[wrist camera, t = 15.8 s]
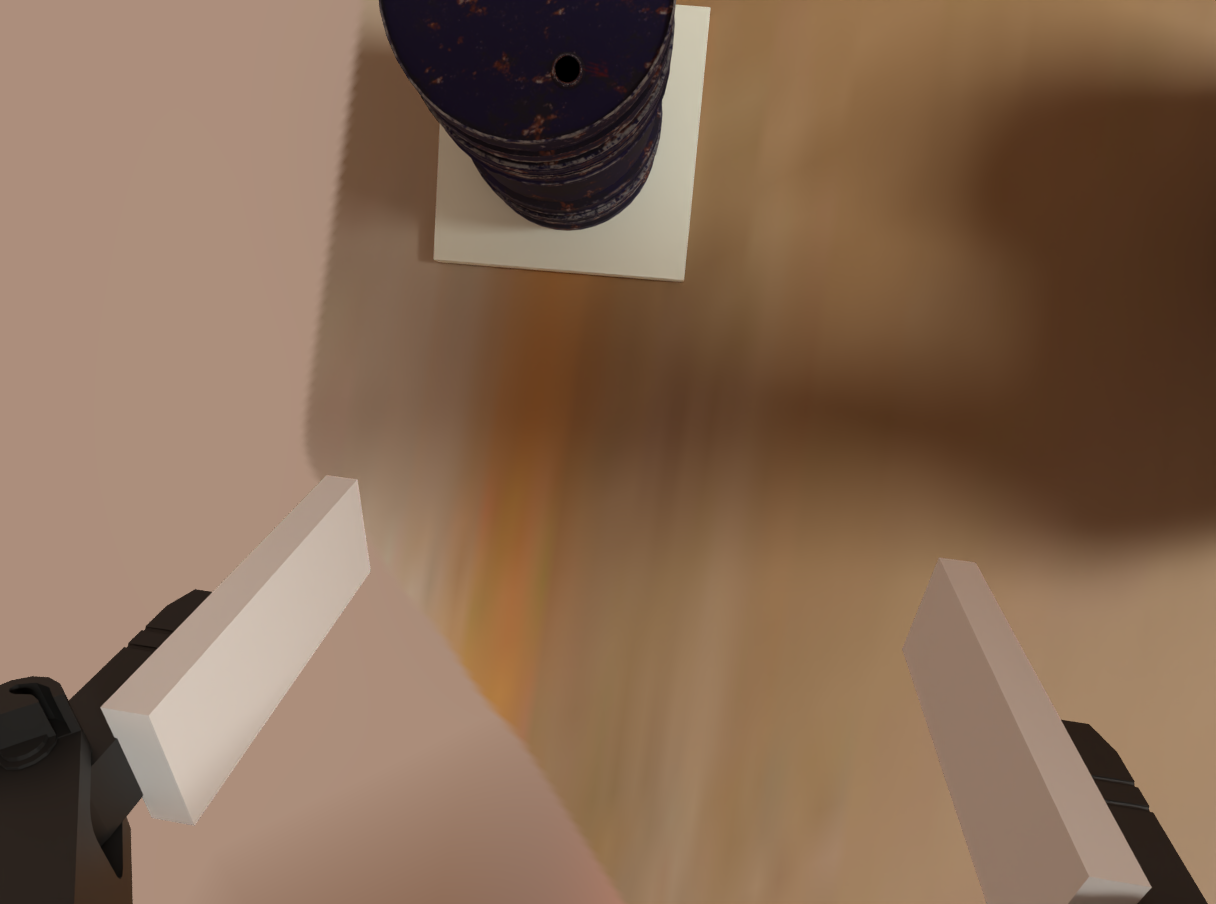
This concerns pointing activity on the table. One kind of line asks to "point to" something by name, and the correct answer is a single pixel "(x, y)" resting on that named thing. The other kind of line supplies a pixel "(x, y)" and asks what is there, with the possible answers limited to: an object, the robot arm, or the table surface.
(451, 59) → the rusty oil drum
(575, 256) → the placemat
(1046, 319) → the table surface
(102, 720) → the robot arm
